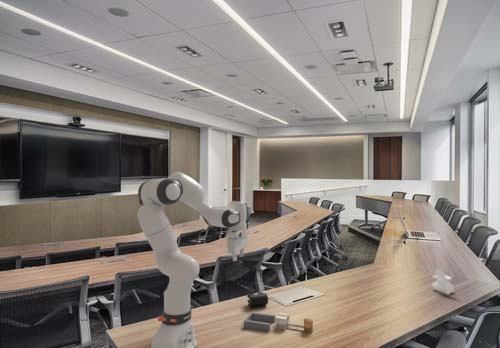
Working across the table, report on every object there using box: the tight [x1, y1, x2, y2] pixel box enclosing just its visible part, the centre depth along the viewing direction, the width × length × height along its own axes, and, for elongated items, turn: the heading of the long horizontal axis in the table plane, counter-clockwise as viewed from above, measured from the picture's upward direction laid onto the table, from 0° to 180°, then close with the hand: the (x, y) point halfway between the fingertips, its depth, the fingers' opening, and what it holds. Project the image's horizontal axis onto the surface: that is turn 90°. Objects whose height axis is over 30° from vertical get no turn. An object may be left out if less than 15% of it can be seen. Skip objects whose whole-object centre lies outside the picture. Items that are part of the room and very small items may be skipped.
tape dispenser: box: [431, 268, 456, 295], centre depth 204 cm, size 8×14×14 cm, turn 21°
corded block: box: [275, 312, 314, 334], centre depth 156 cm, size 6×17×5 cm, turn 66°
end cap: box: [246, 291, 269, 309], centre depth 183 cm, size 10×7×7 cm
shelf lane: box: [243, 311, 276, 332], centre depth 160 cm, size 11×12×3 cm
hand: (238, 258), depth 171 cm, fingers open, 8 cm apart
